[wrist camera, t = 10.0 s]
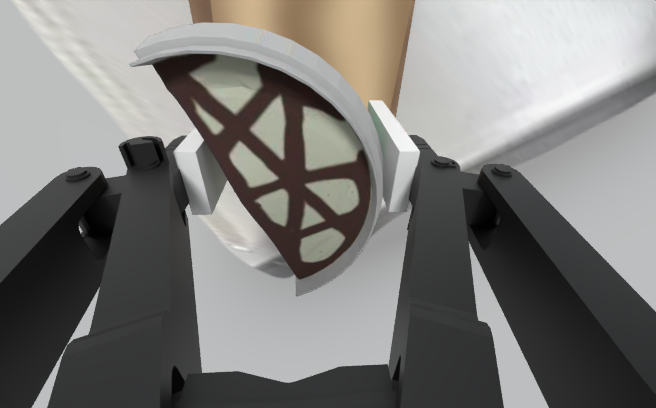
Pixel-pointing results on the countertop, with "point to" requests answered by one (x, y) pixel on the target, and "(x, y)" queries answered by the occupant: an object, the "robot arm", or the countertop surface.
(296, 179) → the food container
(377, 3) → the tower top
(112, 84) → the countertop surface
